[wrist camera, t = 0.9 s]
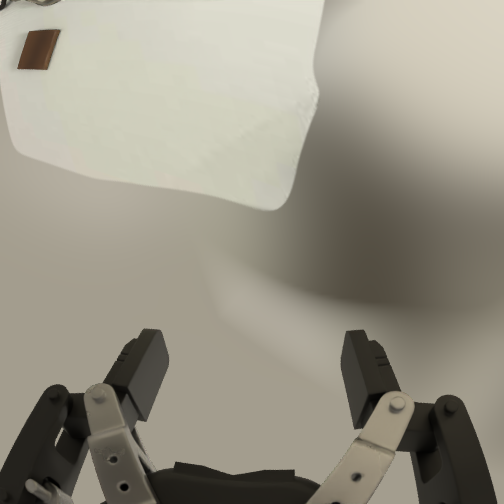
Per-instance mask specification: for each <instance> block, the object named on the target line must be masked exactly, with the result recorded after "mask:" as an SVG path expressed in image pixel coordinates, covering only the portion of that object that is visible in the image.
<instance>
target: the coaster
mask: <svg viewBox="0 0 504 504" xmlns="http://www.w3.org/2000/svg"><path fill="white" fill-rule="evenodd" d="M59 32H60V30H40V31H29V33H28V36H27V39H26V42H25V45H24V48H23V51H22V54H21V57H20V61H19V64H18V68H17V69H39V70H47V68H48V64H49V61H50V58H51V55H52V52H53V49H54V46H55V43H56V40H57V37H58V35H59Z"/></svg>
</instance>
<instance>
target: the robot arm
mask: <svg viewBox="0 0 504 504" xmlns="http://www.w3.org/2000/svg"><path fill="white" fill-rule="evenodd" d="M6 1H7V0H2V1H1V5H0V10H1V9H3V8H4V7H5V5H6ZM10 1H19V0H10ZM26 1H30V2H33V3H36V4H38V5H41V6H48V5H52V4H54V3H56V2H58V1H60V0H26ZM168 365H169V355H168V351H167V348H166V345H165V341H164V338H163V334H162V332H161V330H157V329H143V330H142V332H141V333H140V335H139V337H138V338H137V339H135V338H134V339H132V340H131V341H130V342H129V343H127V344H126V345H125V347H124V348H123V350H122V351H121V354H120V355H119V356H118V358H117V361H115V363H114V365H113V366H112V368H111V370H110V371H109V373H108V375H107V376H106V378H105V380H104V381H103V383H99V384H95V385H93V386H91V387H90V388H88V389H87V391H86V392H85V393H69V392H68V390H67V389H66V387H65V386H63V385H59V384H56V385H52V386H50V387H48V388H47V389H46V390H45V391H44V393H43V394H42V396H41V397H40V399H39V401H38V402H37V404H36V406H35V407H34V409H33V411H32V412H31V414H30V416H29V418H28V419H27V421H26V423H25V425H24V427H23V428H22V430H21V432H20V434H19V436H18V438H17V439H16V441H15V443H14V445H13V447H12V449H11V451H10V453H9V455H8V457H7V459H6V461H5V463H4V465H3V467H2V469H1V472H0V504H74V503H73V501H72V499H71V496H72V493H73V490H74V487H75V484H76V482H77V479H78V476H79V473H80V470H81V468H82V465H83V463H84V460H85V458H86V455H87V452H88V450H89V449H90V452H91V456H92V459H93V463H94V466H95V470H96V473H97V476H98V479H99V482H100V485H101V488H102V491H103V493H104V496H105V499H106V501H104V502H103V503H101V504H367V503H368V501H369V500H370V498H371V497H372V495H373V494H374V492H375V490H376V488H377V487H378V485H379V484H380V482H381V480H382V479H383V477H384V475H385V473H386V472H387V470H388V468H389V466H390V464H391V462H392V461H393V459H394V456H395V451H403V452H410V455H411V460H412V465H413V470H414V475H415V480H416V486H417V491H418V498H419V504H497V500H496V496H495V492H494V488H493V484H492V480H491V477H490V473H489V470H488V467H487V464H486V460H485V457H484V454H483V451H482V448H481V446H480V443H479V440H478V437H477V435H476V432H475V429H474V427H473V424H472V422H471V420H470V417H469V415H468V412H467V410H466V407H465V405H464V403H463V402H462V400H461V399H459V398H458V397H456V396H453V395H444V396H441V397H440V398H438V399H437V401H436V403H435V404H431V403H418V402H414V401H413V399H412V398H411V397H410V396H409V395H407V394H406V393H404V392H401V390H400V387H399V385H398V382H397V379H396V377H395V374H394V372H393V370H392V367H391V365H390V363H389V360H388V358H387V355H386V353H385V351H384V348H383V347H382V346H381V345H380V344H379V343H378V342H377V341H375V340H372V341H369V340H368V338H367V335H366V333H365V331H364V330H352V331H346V334H345V339H344V345H343V350H342V355H341V371H342V375H343V380H344V384H345V388H346V393H347V397H348V402H349V407H350V411H351V416H352V420H353V426H354V429H361V428H362V429H363V430H362V431H361V433H360V434H359V436H358V437H357V438H356V439H355V440H354V441H353V443H352V444H351V446H350V447H349V449H348V450H347V452H346V453H345V455H344V456H343V457H342V459H341V460H340V462H339V463H338V464H337V466H336V467H335V468H334V470H333V471H332V472H331V474H330V475H329V476H328V478H327V479H326V480H325V481H324V483H323V484H322V485H319V484H317V483H315V482H313V481H311V480H309V479H306V478H302V477H297V476H295V470H262V471H256V472H250V473H245V474H238V475H230V474H226V473H223V472H220V471H217V470H214V469H211V468H208V467H205V466H202V465H194V464H188V463H181V462H175V465H174V468H169V469H163V470H159V471H157V470H156V468H155V467H154V465H153V464H152V462H151V460H150V458H149V456H148V454H147V452H146V450H145V448H144V445H143V443H142V441H141V438H140V436H139V434H138V431H137V429H136V427H135V424H136V421H137V420H140V421H144V422H146V421H147V419H148V416H149V414H150V411H151V409H152V406H153V403H154V401H155V398H156V396H157V393H158V391H159V388H160V386H161V383H162V381H163V379H164V376H165V374H166V371H167V369H168ZM61 428H63V429H64V430H63V432H62V434H61V436H60V438H59V440H58V443H57V445H56V447H55V440H56V438H57V436H58V434H59V432H60V430H61Z"/></svg>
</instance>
